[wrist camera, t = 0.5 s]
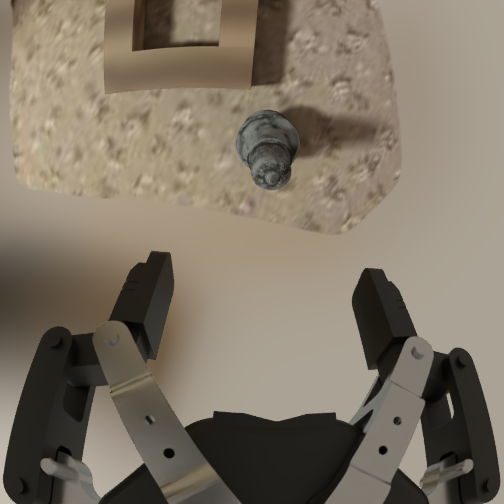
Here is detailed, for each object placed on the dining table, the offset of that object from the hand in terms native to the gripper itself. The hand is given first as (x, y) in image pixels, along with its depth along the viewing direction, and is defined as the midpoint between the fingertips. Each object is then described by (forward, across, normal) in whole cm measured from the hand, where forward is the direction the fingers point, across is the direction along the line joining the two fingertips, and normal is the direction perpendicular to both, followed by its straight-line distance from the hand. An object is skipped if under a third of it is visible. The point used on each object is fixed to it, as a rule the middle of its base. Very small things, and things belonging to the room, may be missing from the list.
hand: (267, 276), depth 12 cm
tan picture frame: (+21, +9, -13) cm, 26 cm away
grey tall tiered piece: (+21, 0, 0) cm, 21 cm away
